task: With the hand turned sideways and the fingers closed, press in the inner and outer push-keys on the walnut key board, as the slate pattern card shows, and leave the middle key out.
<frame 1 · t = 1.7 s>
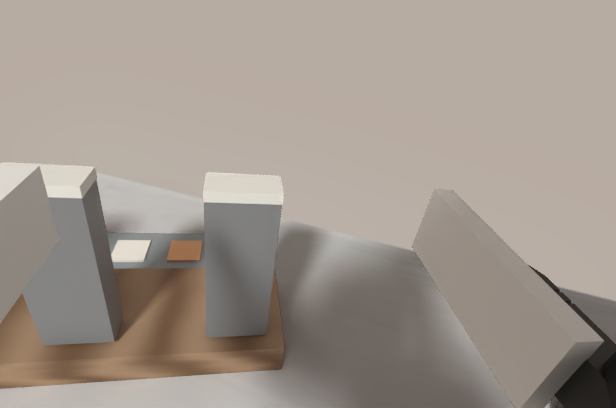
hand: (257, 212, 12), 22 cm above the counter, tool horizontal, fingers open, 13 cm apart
pattern card: (131, 255, 41), on the counter
key inner: (240, 263, 27), point 10 cm above the counter, slide at 0.0 cm
key middle: (66, 263, 24), point 10 cm above the counter, slide at 0.0 cm
key board: (102, 330, 32), on the counter
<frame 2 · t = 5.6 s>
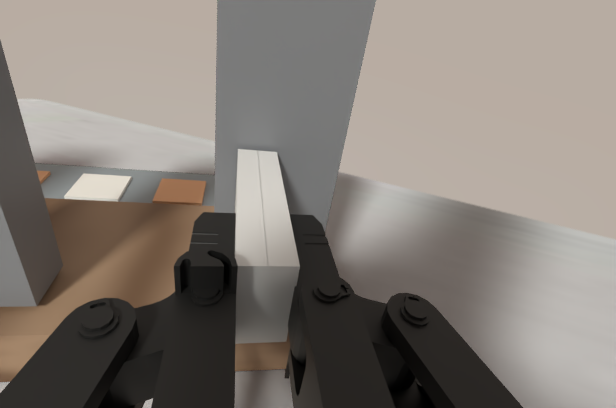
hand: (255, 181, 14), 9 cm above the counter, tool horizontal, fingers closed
pattern card: (101, 195, 28), on the counter
key inner: (277, 143, 15), point 10 cm above the counter, slide at 1.3 cm, touching gripper
key board: (35, 294, 19), on the counter
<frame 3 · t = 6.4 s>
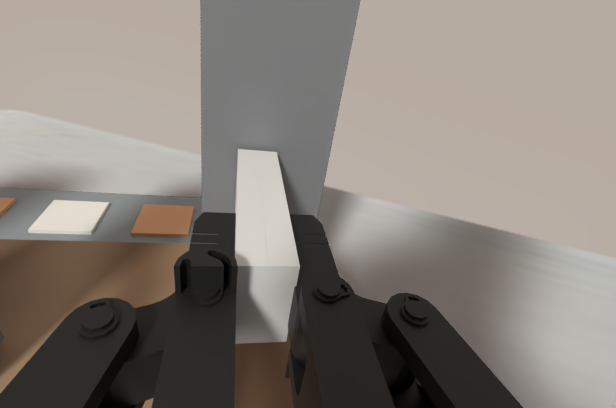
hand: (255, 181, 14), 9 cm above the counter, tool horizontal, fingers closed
pattern card: (74, 225, 24), on the counter
key inner: (265, 144, 15), point 10 cm above the counter, slide at 5.1 cm, touching gripper
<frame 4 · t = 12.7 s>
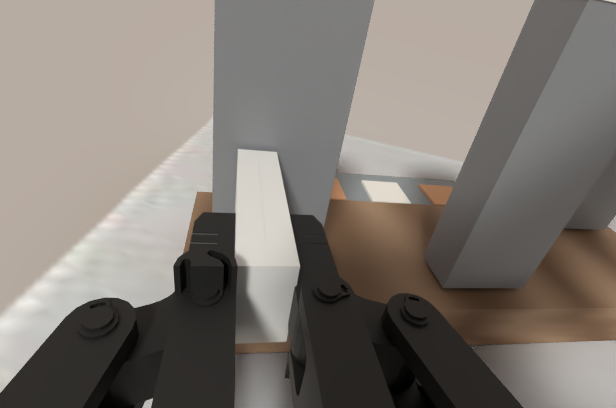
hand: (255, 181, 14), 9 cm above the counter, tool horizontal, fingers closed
pattern card: (383, 198, 32), on the counter
key outer: (277, 128, 15), point 10 cm above the counter, slide at 0.8 cm, touching gripper
key middle: (533, 160, 16), point 10 cm above the counter, slide at 0.0 cm
key board: (432, 280, 24), on the counter
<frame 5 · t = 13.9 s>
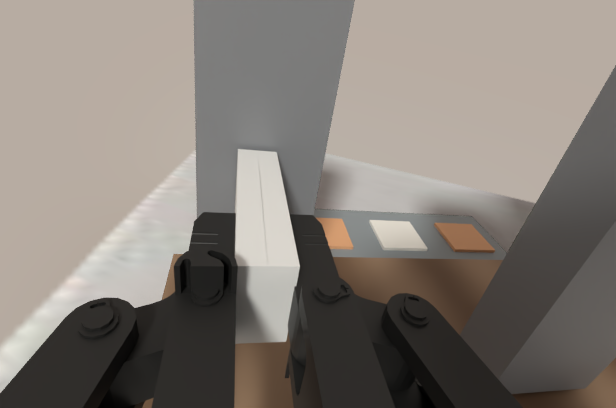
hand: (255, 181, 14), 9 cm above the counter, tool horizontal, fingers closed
pattern card: (394, 242, 28), on the counter
key outer: (261, 143, 15), point 10 cm above the counter, slide at 6.1 cm, touching gripper
key middle: (612, 241, 12), point 10 cm above the counter, slide at 0.0 cm
key board: (461, 358, 20), on the counter
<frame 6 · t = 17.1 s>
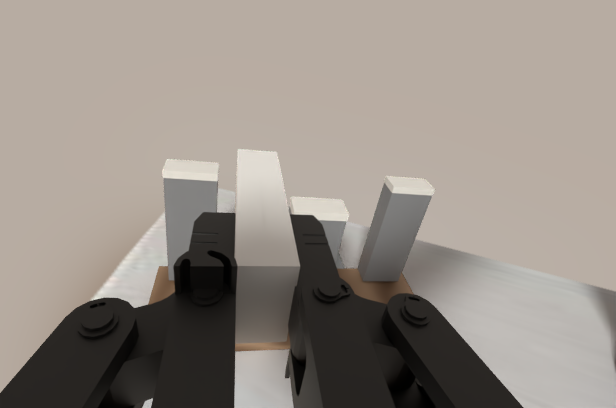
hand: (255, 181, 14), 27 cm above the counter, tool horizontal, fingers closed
key inner: (392, 232, 44), point 10 cm above the counter, slide at 6.1 cm
key outer: (192, 224, 38), point 10 cm above the counter, slide at 6.1 cm
key middle: (307, 263, 36), point 10 cm above the counter, slide at 0.0 cm
key board: (290, 313, 43), on the counter
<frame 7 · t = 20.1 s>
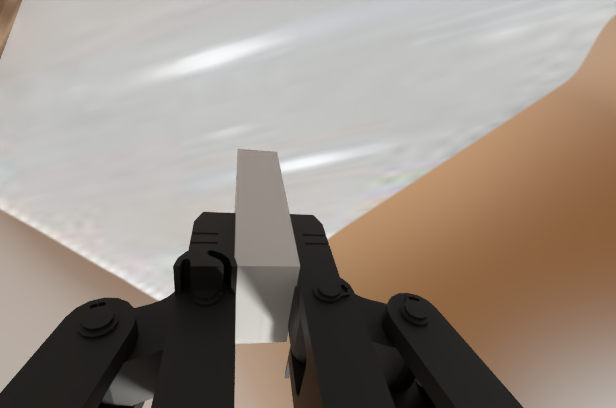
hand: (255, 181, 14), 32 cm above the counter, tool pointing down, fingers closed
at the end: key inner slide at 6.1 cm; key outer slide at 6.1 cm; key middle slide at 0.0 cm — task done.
